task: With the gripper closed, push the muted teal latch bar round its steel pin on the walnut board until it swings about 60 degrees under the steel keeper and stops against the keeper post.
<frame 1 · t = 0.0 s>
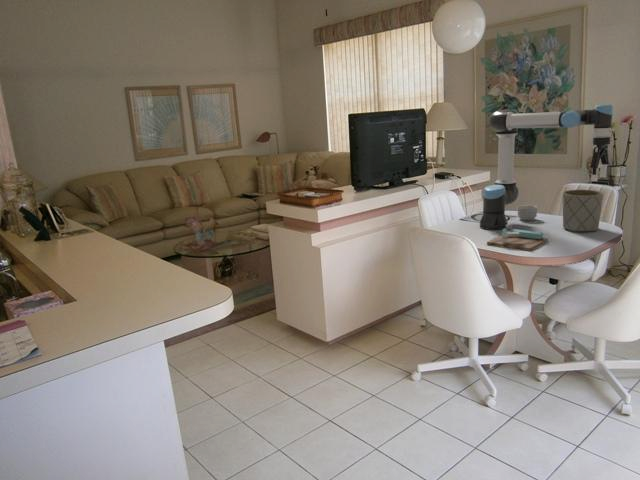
hand: (598, 179, 253), 28 cm above the table, tool pointing down, fingers open, 13 cm apart
pivot board: (517, 242, 251), on the table
planter: (580, 229, 268), on the table
teacup: (527, 219, 298), on the table
latch bar: (521, 233, 256), point 3 cm above the table, hinge at 0.0°
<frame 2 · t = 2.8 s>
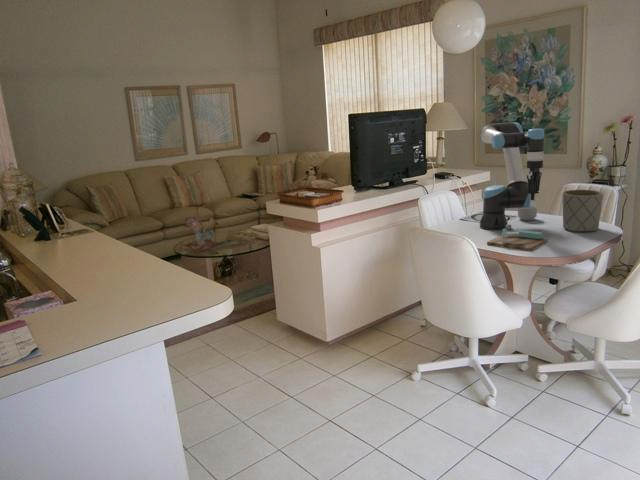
hand: (533, 206, 256), 16 cm above the table, tool pointing down, fingers closed
nothing on the table moved.
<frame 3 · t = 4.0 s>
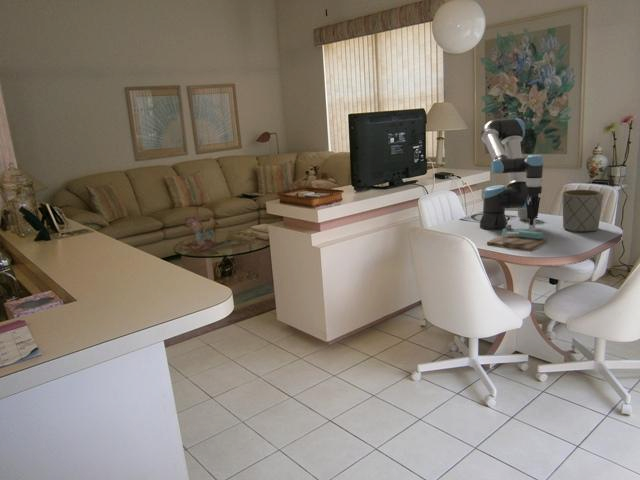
hand: (532, 230, 260), 3 cm above the table, tool pointing down, fingers closed
nothing on the table moved.
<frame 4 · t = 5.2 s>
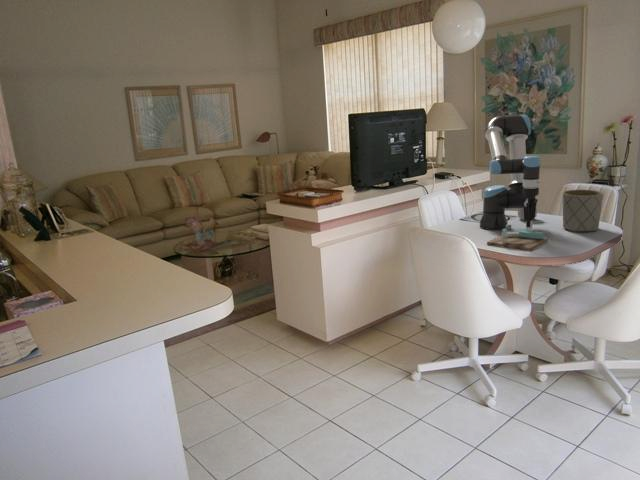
hand: (529, 232, 256), 3 cm above the table, tool pointing down, fingers closed
latch bar: (521, 233, 256), point 3 cm above the table, hinge at 0.0°, touching gripper
everything else where it was.
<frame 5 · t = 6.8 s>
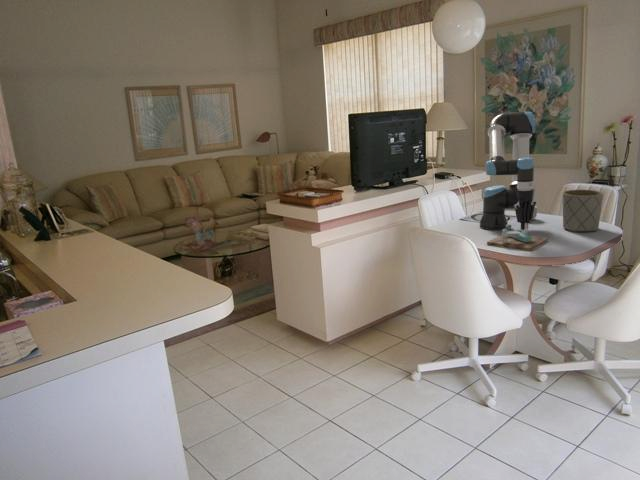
hand: (524, 235, 252), 3 cm above the table, tool pointing down, fingers closed
latch bar: (516, 234, 254), point 3 cm above the table, hinge at -33.3°, touching gripper
everything else where it was.
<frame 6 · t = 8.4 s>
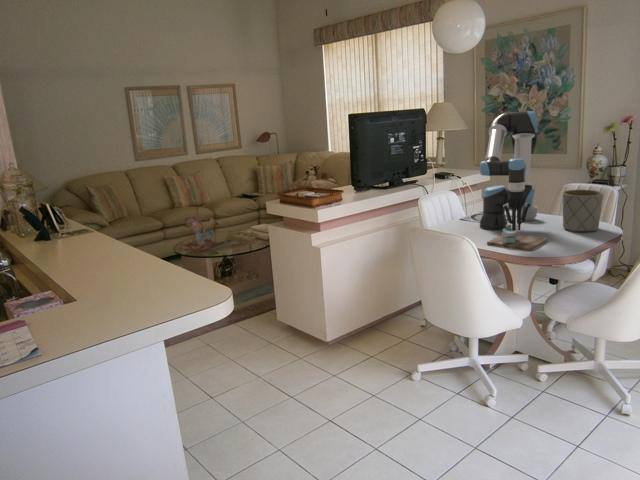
hand: (516, 236, 251), 3 cm above the table, tool pointing down, fingers closed
latch bar: (509, 235, 254), point 3 cm above the table, hinge at -61.1°, touching gripper, pivot board
everything else where it was.
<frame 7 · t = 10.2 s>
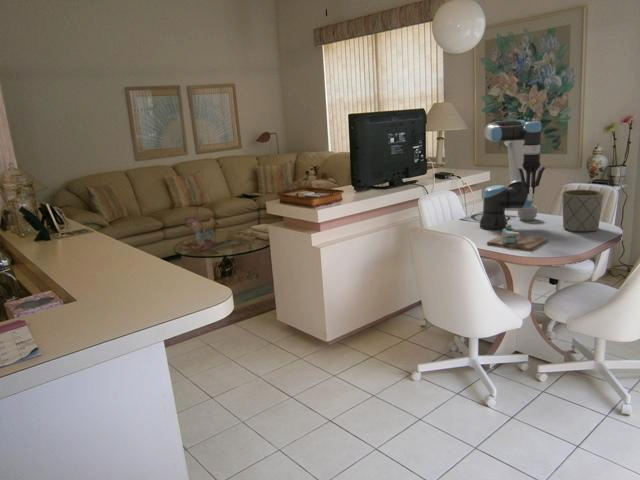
hand: (529, 200, 253), 20 cm above the table, tool pointing down, fingers closed
latch bar: (509, 235, 254), point 3 cm above the table, hinge at -61.0°, touching pivot board
everything else where it was.
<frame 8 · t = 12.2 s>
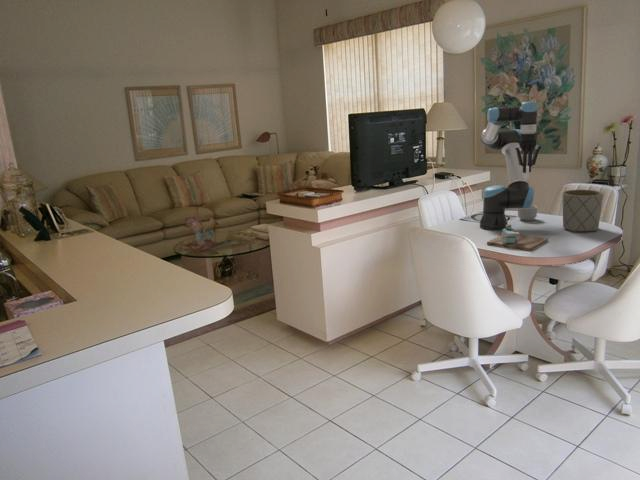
hand: (526, 178, 261), 29 cm above the table, tool pointing down, fingers closed
nothing on the table moved.
at the end: latch bar at -61° (first picture: +0°) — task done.
